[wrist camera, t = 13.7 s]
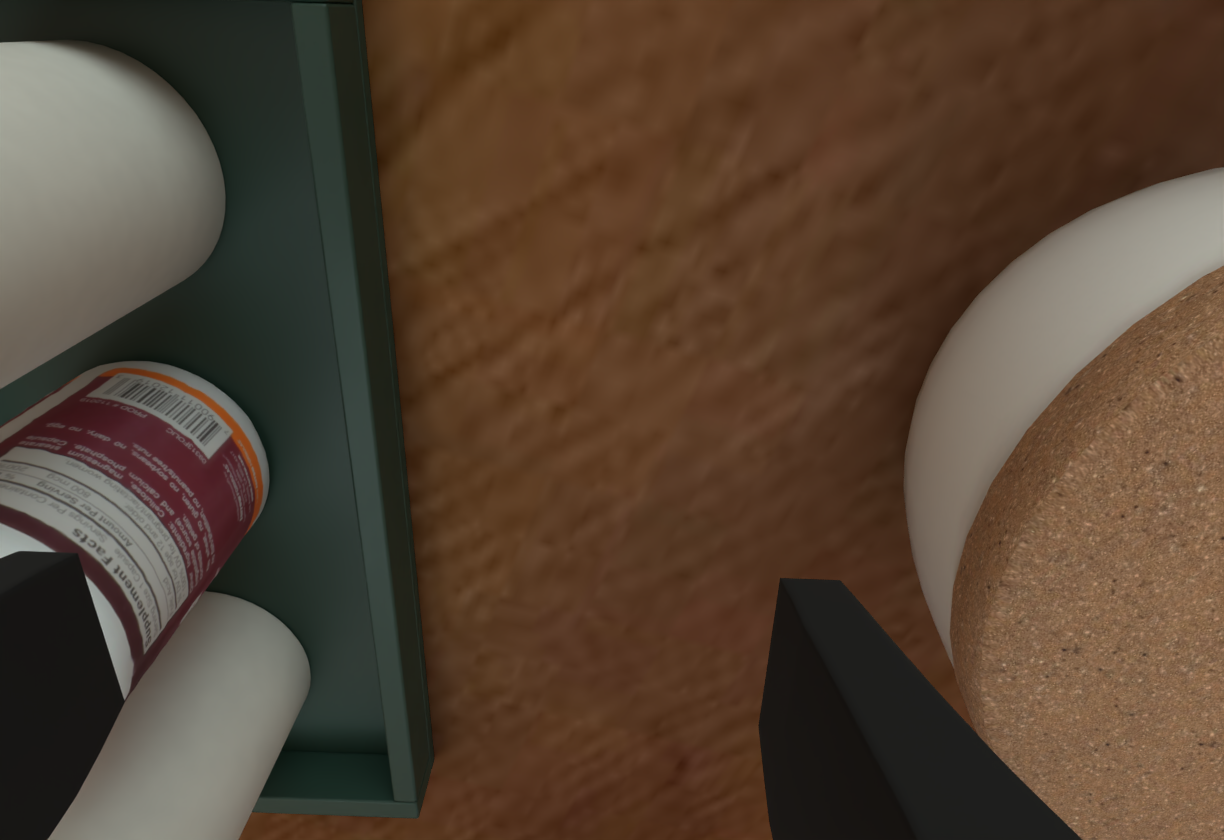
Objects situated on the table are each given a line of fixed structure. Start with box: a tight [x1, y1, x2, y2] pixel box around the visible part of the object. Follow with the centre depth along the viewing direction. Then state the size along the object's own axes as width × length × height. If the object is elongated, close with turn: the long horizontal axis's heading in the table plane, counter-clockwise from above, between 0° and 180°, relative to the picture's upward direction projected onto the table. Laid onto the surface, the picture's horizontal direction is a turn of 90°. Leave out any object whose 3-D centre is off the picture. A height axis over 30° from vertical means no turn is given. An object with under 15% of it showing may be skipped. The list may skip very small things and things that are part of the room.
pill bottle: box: [0, 361, 270, 701], centre depth 14 cm, size 5×5×8 cm
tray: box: [0, 0, 434, 818], centre depth 18 cm, size 19×10×2 cm, turn 178°
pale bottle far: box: [48, 591, 311, 840], centre depth 17 cm, size 5×5×8 cm
